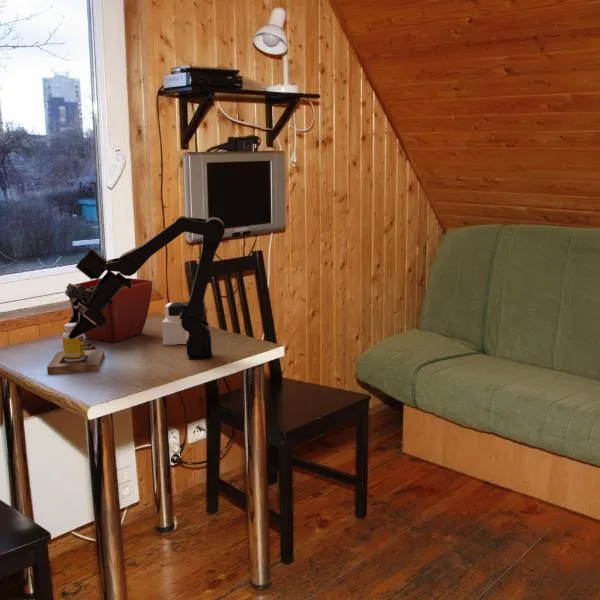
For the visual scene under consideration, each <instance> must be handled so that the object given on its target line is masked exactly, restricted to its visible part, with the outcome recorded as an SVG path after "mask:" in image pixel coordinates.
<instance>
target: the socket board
mask: <svg viewBox="0 0 600 600" xmlns="http://www.w3.org/2000/svg"><path fill="white" fill-rule="evenodd" d="M84 352H85V358H84V359H83V360H81V361H75V362H68V361H65V359H64V350H63V351H62V350H60V351H59V350H58V351H56V353H55V354H54V356H53V357H52V359H51V360H50V362H49V363H48V365H47V366H46V370H47V375H58V374H59V375H60V374H77V373H78V374H80V373H95V372H99V371H100V368H101V366H102V363H103V362H102V361H104V359H105V357H106V353H105V349H102V348H101V349H94V350H84ZM104 356H105V357H104Z"/></svg>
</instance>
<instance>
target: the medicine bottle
mask: <svg viewBox="0 0 600 600" xmlns="http://www.w3.org/2000/svg"><path fill="white" fill-rule="evenodd" d="M182 307H183V302H182V301H173V302H168V303H165V305H164V310H165V311H164V312H165V318H164V319H163V320H162V322H161V327H162V329H161V330H162V345H165V346H177V344H186V341H187V339H188V334H189V332H187V331H185V330H184V329H183V327H182V325H181V319H179V317H180V312H181V311H182ZM186 345H187V344H186Z"/></svg>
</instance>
